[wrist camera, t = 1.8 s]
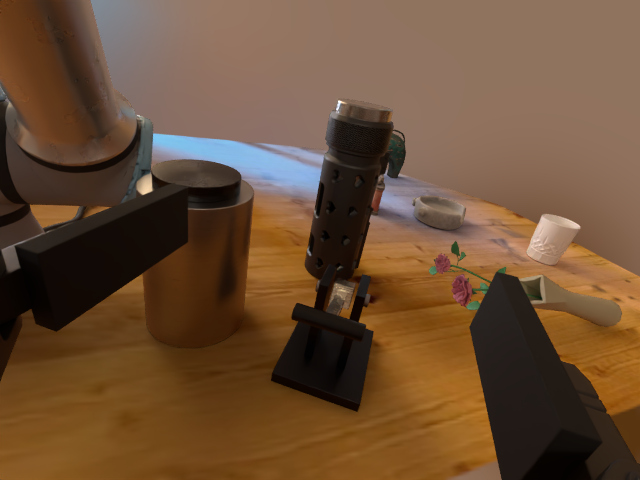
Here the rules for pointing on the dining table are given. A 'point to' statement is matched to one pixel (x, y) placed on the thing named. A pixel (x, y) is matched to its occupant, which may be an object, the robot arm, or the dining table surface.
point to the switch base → (327, 353)
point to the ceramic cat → (396, 155)
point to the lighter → (378, 195)
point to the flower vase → (535, 294)
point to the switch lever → (333, 313)
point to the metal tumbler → (201, 256)
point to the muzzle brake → (348, 185)
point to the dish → (439, 212)
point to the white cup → (551, 238)
